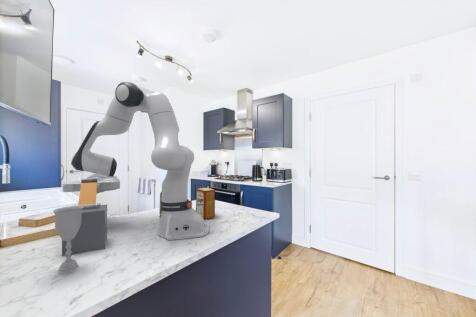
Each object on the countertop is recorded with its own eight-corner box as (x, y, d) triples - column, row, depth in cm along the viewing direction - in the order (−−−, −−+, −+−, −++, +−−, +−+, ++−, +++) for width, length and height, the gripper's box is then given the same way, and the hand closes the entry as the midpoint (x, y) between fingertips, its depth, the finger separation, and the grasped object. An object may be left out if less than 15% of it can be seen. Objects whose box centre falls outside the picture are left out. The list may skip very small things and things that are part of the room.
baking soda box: (195, 216, 115) (196, 188, 114) (205, 214, 119) (206, 187, 119) (204, 220, 107) (204, 190, 107) (214, 217, 111) (215, 189, 111)
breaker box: (69, 244, 76) (69, 204, 76) (107, 238, 82) (107, 201, 82) (61, 256, 67) (62, 210, 67) (104, 248, 73) (104, 206, 73)
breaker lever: (78, 210, 74) (82, 181, 80) (95, 208, 76) (97, 180, 82) (77, 208, 72) (81, 178, 78) (94, 206, 75) (97, 178, 81)
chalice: (65, 263, 63) (66, 205, 63) (88, 262, 64) (88, 205, 63) (45, 277, 56) (45, 212, 56) (71, 276, 56) (71, 212, 56)
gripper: (66, 178, 89) (57, 181, 76) (120, 176, 98) (119, 178, 86) (66, 192, 89) (57, 198, 76) (120, 189, 98) (119, 193, 86)
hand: (90, 187), depth 81 cm, fingers closed
